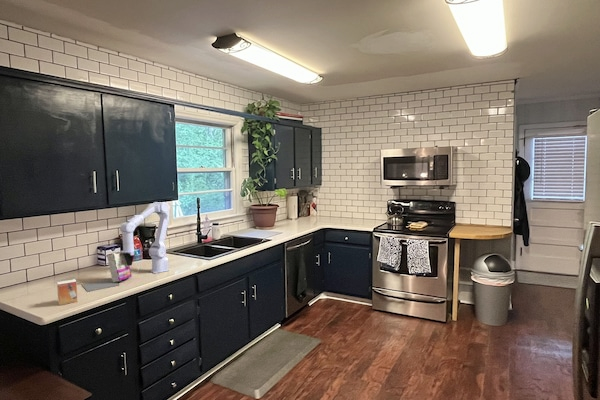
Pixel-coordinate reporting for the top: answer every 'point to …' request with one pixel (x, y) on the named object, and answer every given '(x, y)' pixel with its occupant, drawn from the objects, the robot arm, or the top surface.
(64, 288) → the small box
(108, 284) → the mat
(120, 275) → the candy bar box
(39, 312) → the top surface
